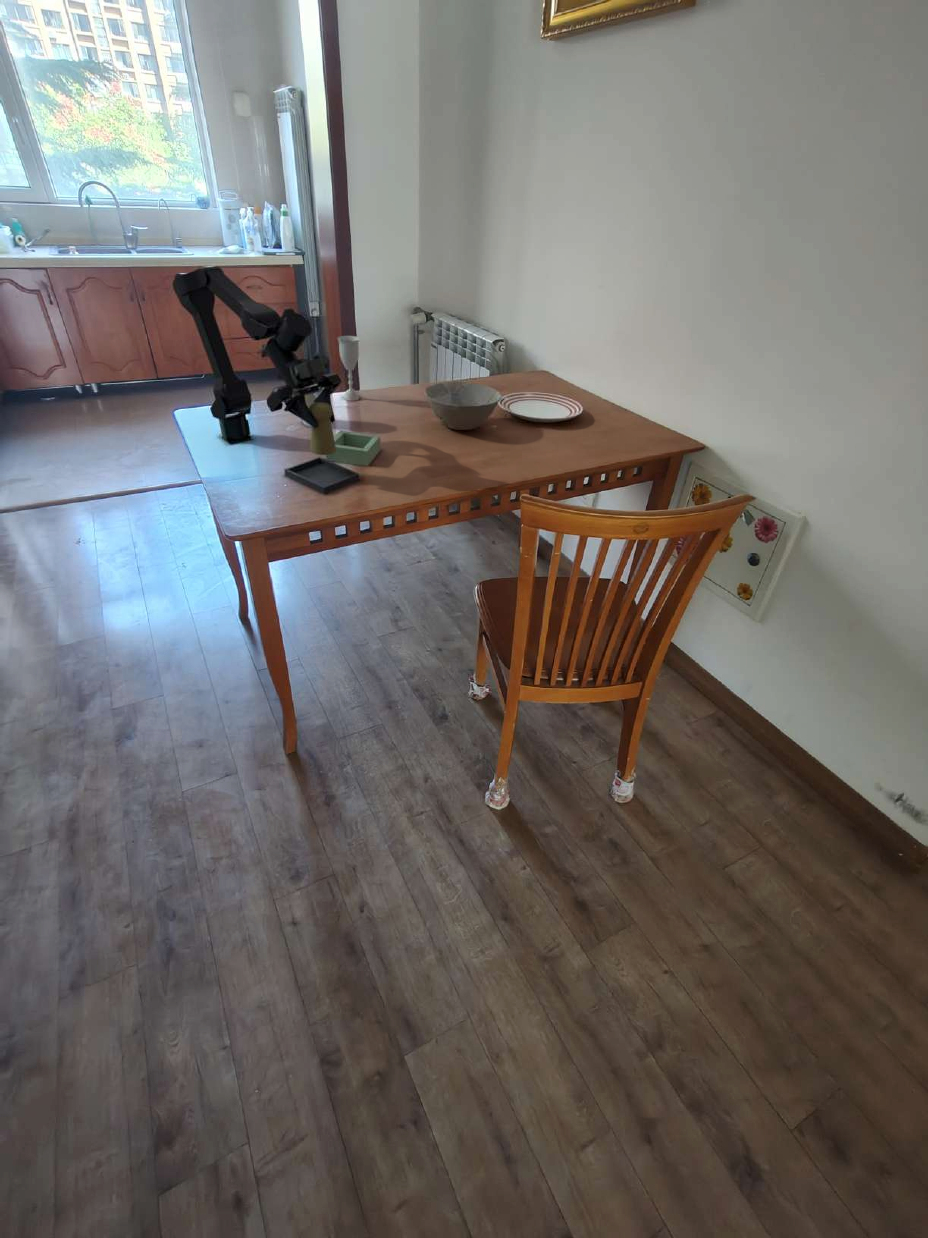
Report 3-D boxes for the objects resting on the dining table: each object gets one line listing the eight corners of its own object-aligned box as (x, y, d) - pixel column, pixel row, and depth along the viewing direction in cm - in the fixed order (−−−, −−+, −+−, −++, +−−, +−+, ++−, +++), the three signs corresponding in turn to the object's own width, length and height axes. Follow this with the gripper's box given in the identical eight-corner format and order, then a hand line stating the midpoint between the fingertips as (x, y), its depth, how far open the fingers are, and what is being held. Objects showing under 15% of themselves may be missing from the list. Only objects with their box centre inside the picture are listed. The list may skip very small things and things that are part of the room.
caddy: (326, 460, 153) (324, 445, 150) (341, 444, 162) (340, 430, 159) (367, 466, 152) (367, 451, 149) (380, 450, 160) (380, 435, 158)
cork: (340, 447, 143) (337, 401, 136) (329, 456, 139) (326, 409, 132) (317, 443, 144) (313, 397, 137) (305, 452, 140) (301, 405, 133)
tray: (284, 475, 144) (284, 469, 143) (320, 462, 151) (319, 456, 150) (324, 494, 138) (324, 487, 137) (359, 480, 145) (359, 473, 144)
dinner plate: (480, 408, 193) (480, 398, 191) (536, 395, 208) (537, 385, 206) (542, 435, 178) (544, 424, 176) (598, 418, 193) (600, 408, 191)
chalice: (344, 393, 196) (340, 334, 185) (364, 395, 195) (362, 336, 184) (338, 400, 190) (334, 340, 179) (358, 402, 190) (356, 342, 179)
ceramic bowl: (513, 429, 180) (517, 396, 174) (459, 446, 166) (461, 410, 160) (462, 408, 192) (465, 376, 185) (408, 422, 178) (408, 388, 172)
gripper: (268, 349, 122) (310, 416, 125) (333, 335, 135) (370, 396, 137) (249, 379, 131) (288, 441, 133) (312, 363, 143) (347, 421, 145)
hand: (325, 424), depth 137 cm, fingers closed on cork, 5 cm apart
